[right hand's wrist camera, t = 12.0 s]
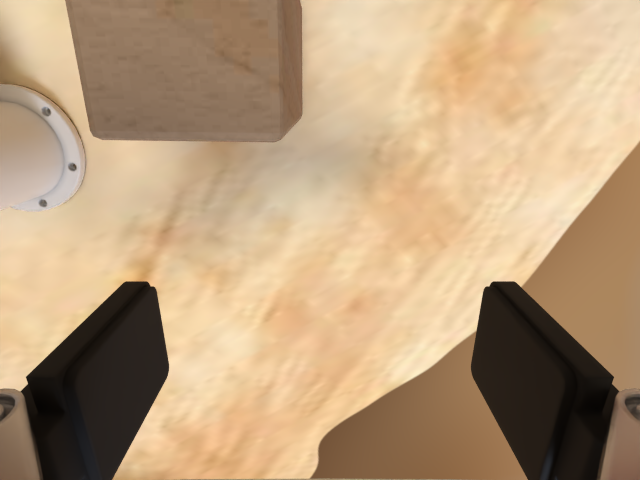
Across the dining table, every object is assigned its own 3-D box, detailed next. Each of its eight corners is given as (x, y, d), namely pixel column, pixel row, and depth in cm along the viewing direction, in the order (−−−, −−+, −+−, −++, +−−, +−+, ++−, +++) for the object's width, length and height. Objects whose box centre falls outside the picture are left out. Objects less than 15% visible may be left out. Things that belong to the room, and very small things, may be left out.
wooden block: (191, 2, 35) (40, -103, 16) (302, 3, 35) (277, -101, 16) (201, 118, 39) (87, 140, 20) (302, 119, 39) (283, 143, 20)
